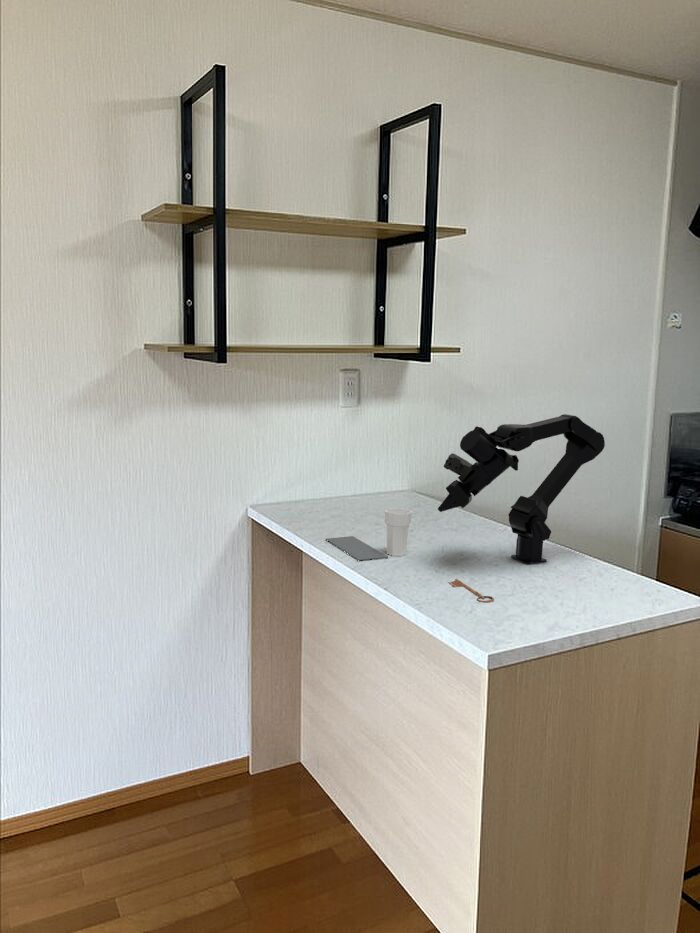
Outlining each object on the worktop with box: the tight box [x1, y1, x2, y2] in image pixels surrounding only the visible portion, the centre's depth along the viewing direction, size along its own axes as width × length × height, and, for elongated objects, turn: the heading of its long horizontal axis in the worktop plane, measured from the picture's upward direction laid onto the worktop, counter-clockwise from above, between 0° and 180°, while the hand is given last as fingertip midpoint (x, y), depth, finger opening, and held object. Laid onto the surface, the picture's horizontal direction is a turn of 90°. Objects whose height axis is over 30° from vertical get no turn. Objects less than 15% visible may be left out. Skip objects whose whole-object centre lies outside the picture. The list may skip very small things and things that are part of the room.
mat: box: [325, 535, 389, 562], centre depth 212 cm, size 20×8×1 cm, turn 26°
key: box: [447, 578, 495, 604], centre depth 182 cm, size 6×1×15 cm
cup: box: [384, 507, 413, 557], centre depth 208 cm, size 7×7×11 cm
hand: (439, 509), depth 203 cm, fingers closed
